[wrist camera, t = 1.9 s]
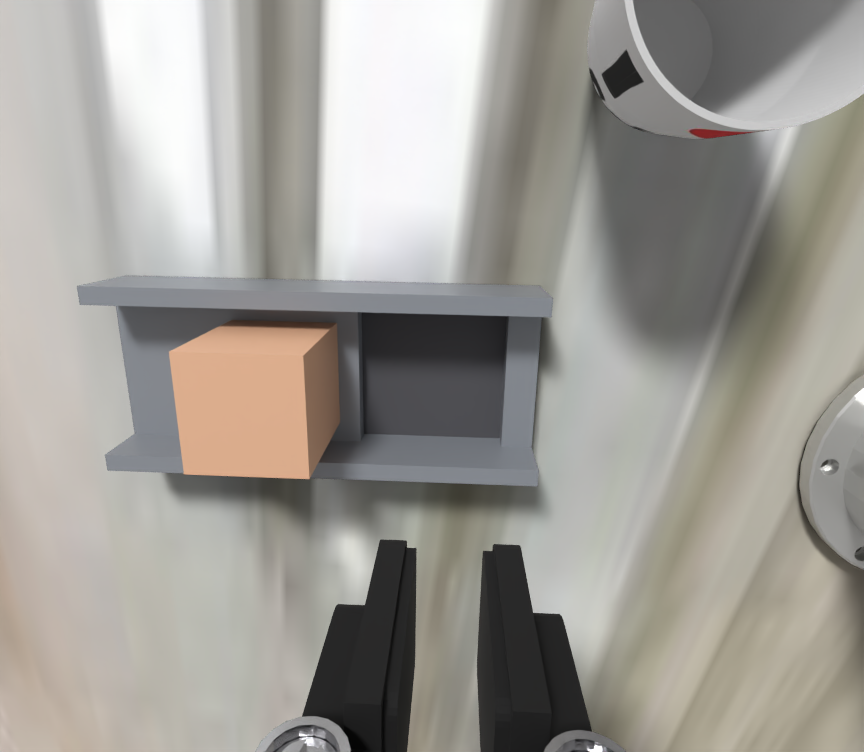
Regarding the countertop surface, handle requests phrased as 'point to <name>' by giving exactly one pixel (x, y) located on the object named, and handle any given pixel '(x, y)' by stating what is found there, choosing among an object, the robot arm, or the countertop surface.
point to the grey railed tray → (356, 370)
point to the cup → (725, 63)
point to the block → (257, 398)
